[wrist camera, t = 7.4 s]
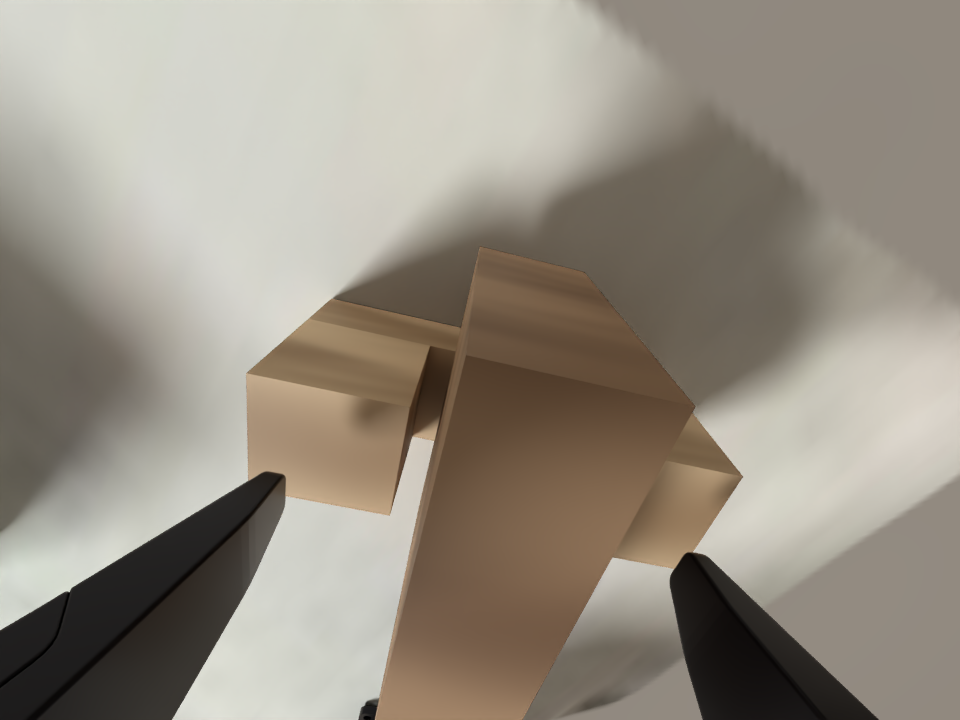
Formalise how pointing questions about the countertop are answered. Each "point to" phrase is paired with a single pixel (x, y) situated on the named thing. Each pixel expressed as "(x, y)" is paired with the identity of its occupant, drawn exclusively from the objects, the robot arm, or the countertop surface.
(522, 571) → the tan wooden beam
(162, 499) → the countertop surface
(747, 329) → the countertop surface
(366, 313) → the u-shaped oak block
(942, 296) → the countertop surface
